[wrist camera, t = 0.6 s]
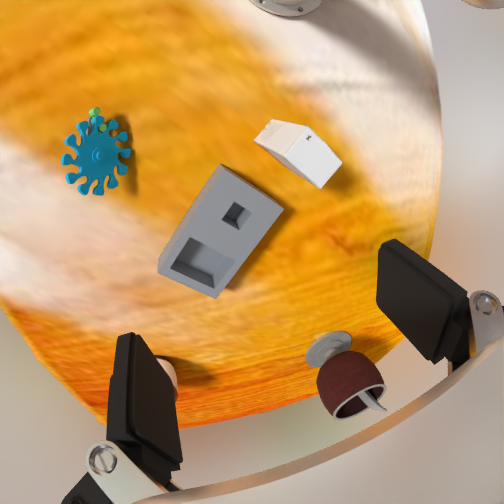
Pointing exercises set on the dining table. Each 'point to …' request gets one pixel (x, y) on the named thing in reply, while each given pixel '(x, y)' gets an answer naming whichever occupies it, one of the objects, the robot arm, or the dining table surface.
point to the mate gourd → (345, 376)
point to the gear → (96, 153)
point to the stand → (218, 233)
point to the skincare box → (299, 151)
